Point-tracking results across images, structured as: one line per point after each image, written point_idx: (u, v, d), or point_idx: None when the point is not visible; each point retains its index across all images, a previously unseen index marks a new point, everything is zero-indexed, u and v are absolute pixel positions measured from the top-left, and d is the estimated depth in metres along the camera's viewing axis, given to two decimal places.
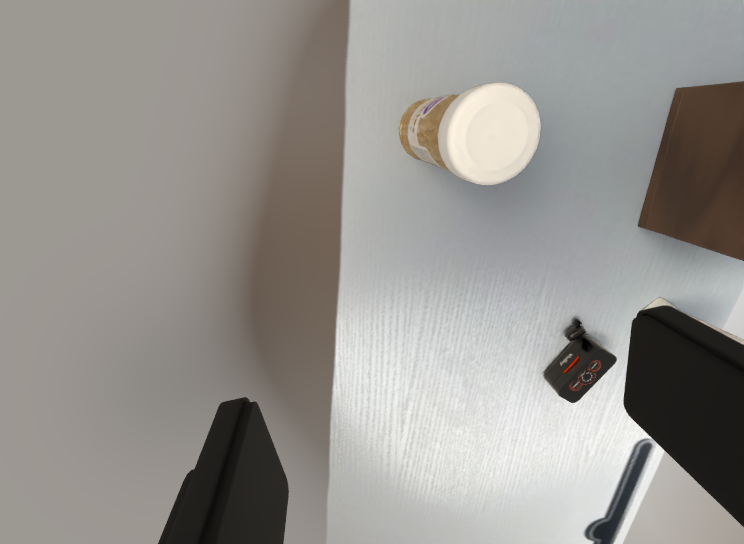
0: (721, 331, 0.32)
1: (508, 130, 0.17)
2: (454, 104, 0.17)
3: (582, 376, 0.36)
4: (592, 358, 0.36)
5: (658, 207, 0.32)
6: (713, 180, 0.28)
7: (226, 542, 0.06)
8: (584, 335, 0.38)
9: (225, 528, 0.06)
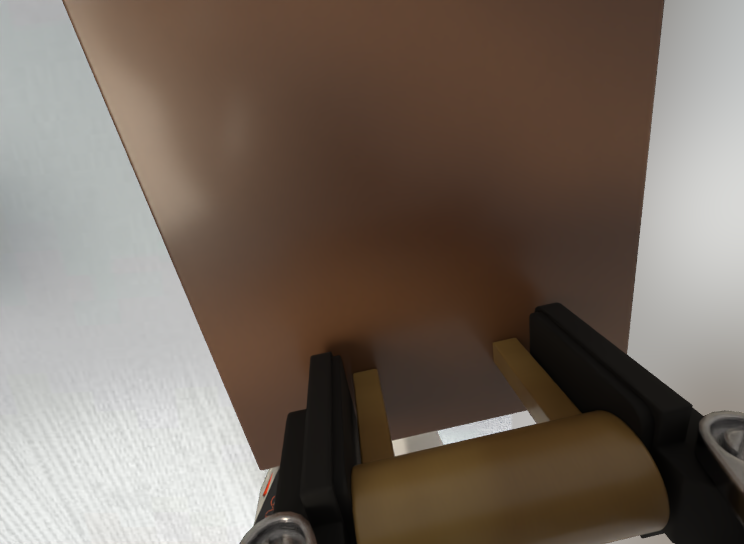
0: (403, 442, 0.20)
1: None
2: None
3: None
4: (277, 480, 0.24)
5: None
6: None
7: (347, 456, 0.07)
8: None
9: (345, 446, 0.07)
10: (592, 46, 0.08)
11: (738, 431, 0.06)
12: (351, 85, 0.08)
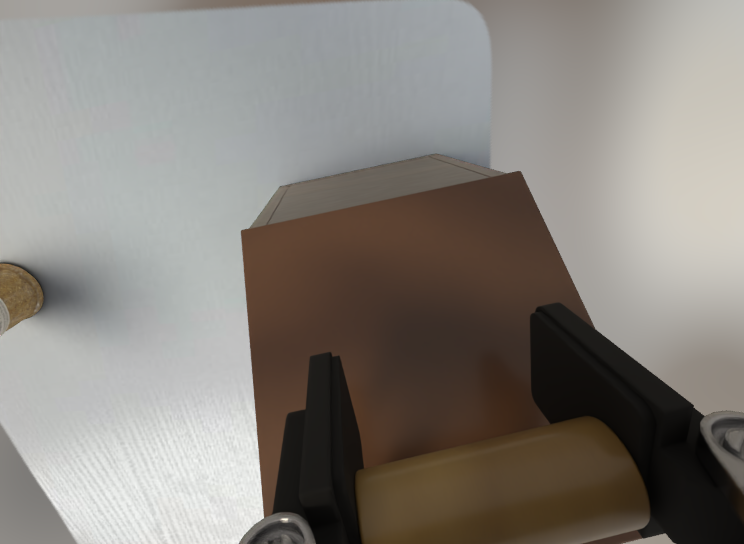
0: None
1: None
2: None
3: None
4: None
5: None
6: None
7: (347, 457, 0.07)
8: None
9: (344, 446, 0.07)
10: (508, 236, 0.14)
11: (740, 431, 0.06)
12: (373, 262, 0.14)
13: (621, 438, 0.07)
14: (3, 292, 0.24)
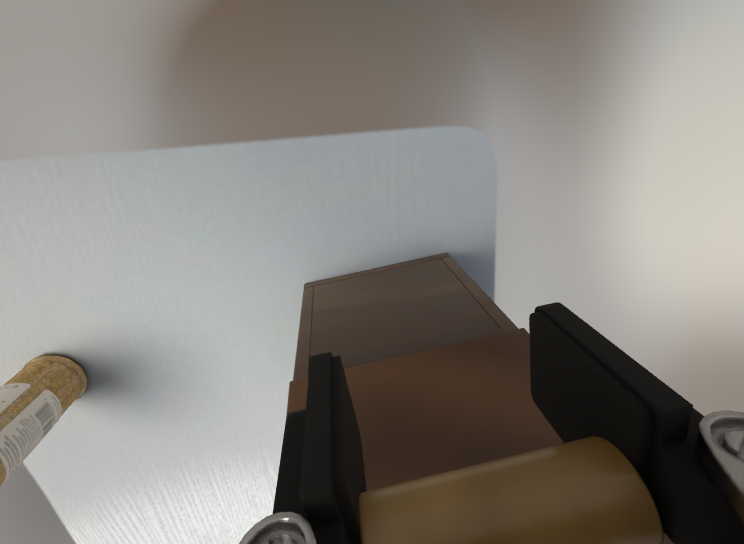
0: None
1: None
2: None
3: None
4: None
5: None
6: None
7: (347, 457, 0.07)
8: None
9: (344, 446, 0.07)
10: (521, 373, 0.15)
11: (739, 431, 0.06)
12: (400, 399, 0.15)
13: (620, 438, 0.07)
14: (56, 388, 0.27)
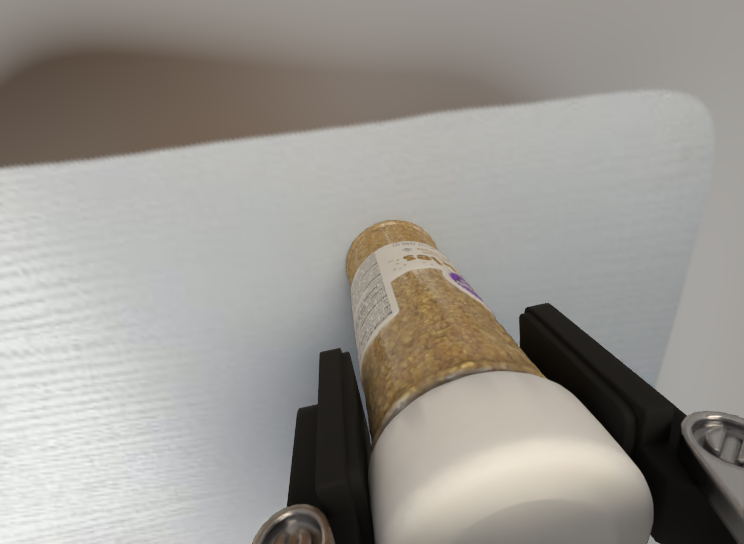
0: None
1: None
2: (576, 410, 0.06)
3: None
4: None
5: None
6: None
7: (360, 450, 0.07)
8: None
9: (357, 440, 0.07)
10: None
11: (719, 431, 0.06)
12: None
13: None
14: None
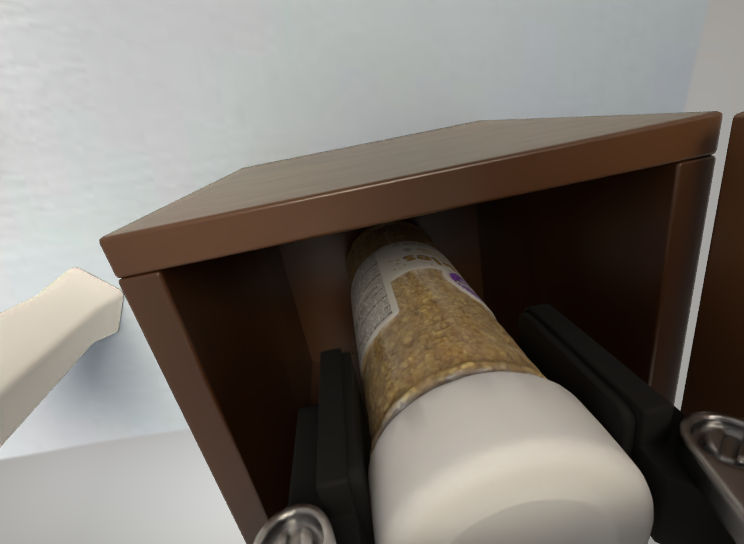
0: (20, 369, 0.13)
1: None
2: (576, 411, 0.06)
3: None
4: None
5: (281, 162, 0.16)
6: (352, 156, 0.12)
7: (361, 450, 0.07)
8: None
9: (358, 440, 0.07)
10: None
11: (717, 431, 0.06)
12: None
13: None
14: None
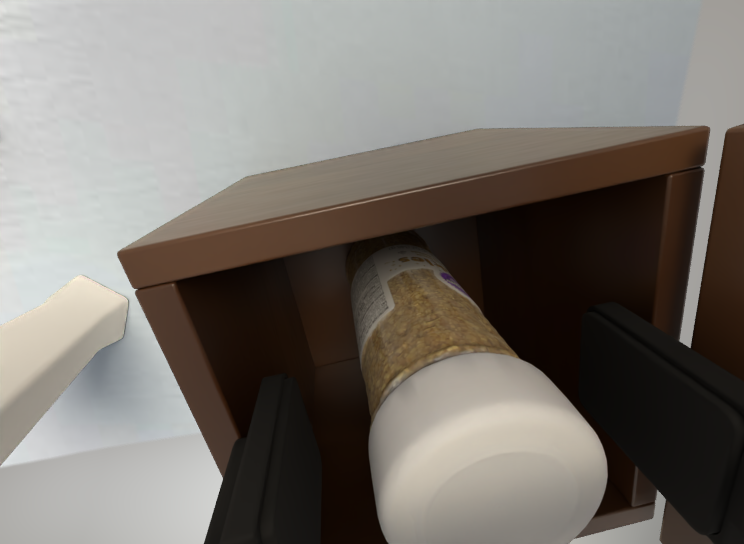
0: (30, 376, 0.13)
1: (515, 525, 0.07)
2: (542, 383, 0.07)
3: None
4: None
5: (284, 171, 0.16)
6: (355, 166, 0.13)
7: (284, 495, 0.06)
8: None
9: (282, 483, 0.06)
10: None
11: None
12: None
13: (702, 446, 0.06)
14: None
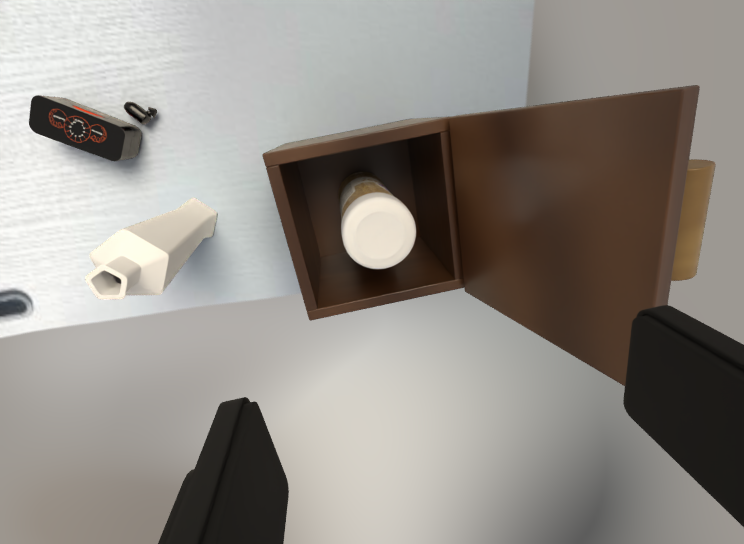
0: (191, 230, 0.28)
1: (386, 242, 0.22)
2: (395, 198, 0.22)
3: (75, 122, 0.28)
4: (106, 124, 0.28)
5: None
6: (340, 134, 0.28)
7: (226, 542, 0.06)
8: (139, 130, 0.31)
9: (225, 528, 0.06)
10: None
11: None
12: None
13: None
14: None
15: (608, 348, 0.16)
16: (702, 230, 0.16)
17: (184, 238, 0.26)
